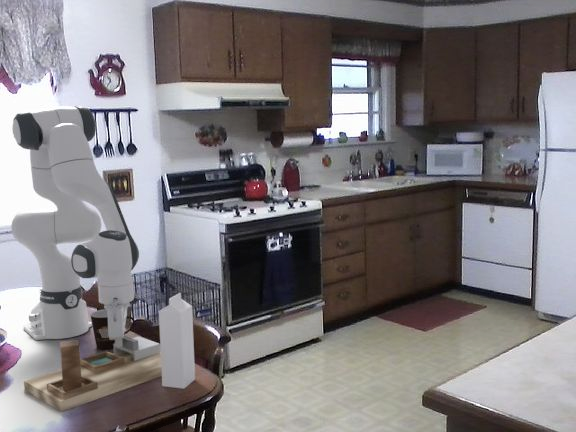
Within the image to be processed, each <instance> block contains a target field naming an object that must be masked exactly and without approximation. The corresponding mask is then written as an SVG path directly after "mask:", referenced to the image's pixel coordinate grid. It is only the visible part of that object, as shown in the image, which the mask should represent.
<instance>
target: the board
mask: <svg viewBox="0 0 576 432" xmlns="http://www.w3.org/2000/svg"><path fill="white" fill-rule="evenodd" d="M80 365H81V380H82V387H79V388H76V389H73V390H70V391H67V392H65V391H63V379H62V368H61V369H56V370H55V371H52V372H48V373H45V374H42V375H37V376H35V377H32V378H28V379H26V380H23V387H24V388H23V389H24V392H26V393H28V394H29V395H31V396H34V397H35V398H37V399H38V400H40V401H42V402H43V403H45V404H46V405H49V406H51V407H53V408H54V409H56V410H58V411H59V412H60V413H61V412H62V413H63V412H65V411H68V410H71V409H74V408H76V407H79V406H82V405H85V404H88V403H90V402H93V401H96V400H99V399H102V398H105V397H106V396H109V395H112V394H115V393H117V392H121V391H124V390H126V389H129V388H132V387H135V386H138V385H140V384H143V383H146V382H149V381H152V380H155V379H156V378H160V377H162V369H161V352H160V353H158V354H155V355H152V356H149V357H146V358H143V359H140V360H137V361H134V355H133V354H131V353H129V352H126V351H120V352H117V353H114V352H113V353H112V352H110V351H109V350H106V351H103V352H99V353H96V354H92V355H89V356H86V357H83V358H80Z"/></svg>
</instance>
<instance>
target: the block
mask: <svg viewBox="0 0 576 432" xmlns="http://www.w3.org/2000/svg"><path fill="white" fill-rule="evenodd" d="M79 341H80V340H79V339H75V340H73V339H72V340H65V341H60V342H59V349H60V361H61V369H62V379H63V391H65V392H67V391H70V390H73V389H76V388H79V387H82V380H81V365H80V359H81V352H80V349H81V348H80V342H79Z"/></svg>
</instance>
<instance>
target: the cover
mask: <svg viewBox="0 0 576 432" xmlns="http://www.w3.org/2000/svg"><path fill="white" fill-rule="evenodd" d="M113 345H114V349H113V353H117V352H120V351H126V352H129V353H131V354H133V355H134V361H137V360H140V359H143V358H146V357H149V356H152V355H155V354H158V353H161V348H160V343H159V342H156V341H153V340H151V339H147V338H146V337H142V336H139V335H138V336H134V337H130V336H127V335H124V337H123V345H122V347H116V346H115V343H114V344H113Z"/></svg>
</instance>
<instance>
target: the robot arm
mask: <svg viewBox="0 0 576 432" xmlns="http://www.w3.org/2000/svg"><path fill="white" fill-rule="evenodd" d="M12 121H13V122H12V135H13V137H14V139H15V141H16V143H17V145H18V146H19V147H21V148H22V149H25V150H29V159H30V169H31V170H30V171H31V178H32V187H33V190H34V191H35V194H37V195H38V196H39V197H41V198H43V199H46V200H48V201H50V202H52V203H53V204H54V205H55V206H56V207H49V208H48V207H47V208H32V209H28V210H23V211H20V212H17V214H16V215H14V217H13V219H12V221H11V226H10V227H11V233H12V236H13V238H14V239H15V241H17V242H18V243H19V244H21V245H22V246H23V247H25V248H26V249H28V250H29V251H30V252H31V253H32V255H33V256H34V258H35V259H36V262H37V263H38V266H39V271H40V278H41V287H42V288H41V289H39V291H40V292H39V302H38V303H36V305H35V306H34V307H33V308H32V309H31V312H30V314H29V315H28V321H29V323H27V324H25V325H24V326H23V330H24V331H25V332H26V333H28V335H30V337H32V338H33V339H34V341H35V340H36V341H39V340H62V339H68V338H74V337H78V336H80V335H83V334H85V333H87V332H88V331H90V330H89V329H90V328H91V327H93V326H92V321H89V314H88V307H87V302H86V301H85V300H84V299H82V298H83V288H82V285H81V278H82V279H94V278H95V279H97V292H98V303H100V304H103V307H104V309H108V336H109V339H110V340H115V346H116V347H122V345H123V337H124V336H125V335H124V332H126V321H127V318H126V316H128V308H129V307H130V302H132V301H134V299H135V293H134V278H133V276H132V271H133V269H134V268H135V266H137V264H138V262H139V258H140V251H139V247H138V245H137V243H136V242H135V240H134V238H133V236H132V235H131V233H130V230H129V228H128V225H127V223H126V220H125V218H124V217H125V216H124V215H123V213H122V209H121V206H120V204H119V201H118V200H117V197H116V195H115V192H114V190H113V188H112V186H111V185H110V183H109V182H107V181H106V180H104V179H103V177H102V176H101V174H100V173H99V171H98V169H97V167H96V163H95V160H94V157H93V154H92V153H93V152H92V150H91V145H90V144H89V143H90V142H91V141H92V140H93V139H94V137H95V136H96V131H97V129H96V128H97V126H96V125H97V123H96V119H95V117H94V114H93V112H92V111H91V110H90V109H89V108H87V107H85V106H77V105H76V106H53V107H51V108H50V107H49V108H42V109H35V110H25V111H21V112H19V113H16V115H15V116H14V118H13V120H12ZM85 202H86V203H87V204H86V203H85ZM88 204H90V205H92V206H93V207H95V208H96V209H97V211H98V212H99V213H98V212H97V211H96V210H95V209H94V208H92V207H90V206H89V205H88ZM100 216H101V217H100ZM101 219H102V220H101ZM102 222H103V224H104V227H105V230H101V229H102ZM59 244H60V245H61V244H76V246H75V248H74V249H73V251H72V254H71V255H69V254H66V253H65V252H62V251H61V250H59V248H58V246H57V245H59Z"/></svg>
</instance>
